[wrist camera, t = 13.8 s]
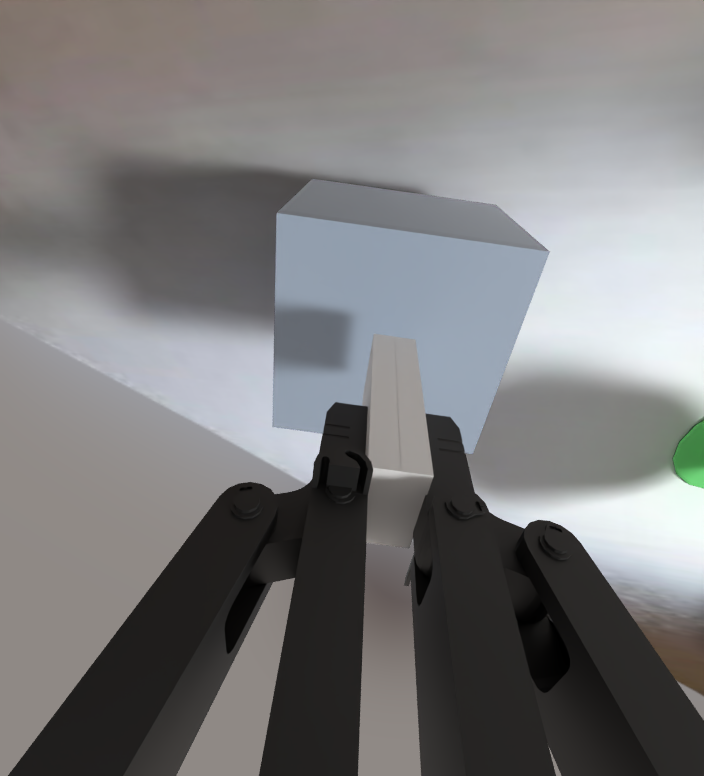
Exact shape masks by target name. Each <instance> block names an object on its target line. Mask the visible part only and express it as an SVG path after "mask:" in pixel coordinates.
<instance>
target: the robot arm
mask: <svg viewBox="0 0 704 776" xmlns="http://www.w3.org/2000/svg"><path fill="white" fill-rule="evenodd" d="M462 442H463V441H462V437H461V432H460V429H459V427H458V426H457V425H456V423H455V422H454V421H453V420H452V418H451V417H447V416H440V415H433V414H426V413H425V407H424V399H423V392H422V384H421V377H420V369H419V362H418V354H417V347H416V340H415V339H408V338H401V337H394V336H387V335H380V334H374V335H373V341H372V346H371V352H370V358H369V364H368V369H367V375H366V381H365V387H364V392H363V402H362V406H360V405H353V404H346V403H339V402H335V403H334V404H333V405H332V406H331V408H330V409H329V410H328V411H327V413H326V419H325V424H324V430H323V436H322V441H321V446H320V451H319V454H318V456H317V458H316V460H315V462H314V469H313V479H312V480H311V481H310V483H308V484H307V485H306V486H305V487H303V488H301V489H299V490H296V491H292V492H288V493H281V494H274V493H273V492H272V490H271V489H269V488H268V487H266V486H264V485H262V484H258V483H252V482H248V483H241V484H237V485H235V486H233V487H230V488H228V489H227V490H226V491H225V492H224V493H222V495H220V496H219V498H218V499H217V500H216V502H215V503H214V504H213V506H212V507H211V509H210V510H209V511H208V512H207V514H206V515H205V516H204V518H203V519H202V520H201V522H200V523H199V524H198V525H197V527H196V528H195V530H194V531H193V532H192V533H191V535H190V536H189V537H188V539H187V540H186V541H185V543H184V544H183V545H182V547H181V548H180V549H179V551H178V552H177V553H176V555H175V556H174V557H173V559H172V560H171V561H170V562H169V564H168V565H167V566H166V568H165V569H164V570H163V572H162V573H161V575H160V576H159V577H158V578H157V580H156V581H155V582H154V584H153V585H152V586H151V588H150V589H149V590H148V592H147V593H146V594H145V595H144V597H143V598H142V600H141V601H140V602H139V604H138V605H137V606H136V608H135V609H134V610H133V612H132V613H131V614H130V615H129V617H128V618H127V619H126V621H125V622H124V623H123V625H122V626H121V627H120V628H119V630H118V631H117V632H116V634H115V635H114V637H113V638H112V639H111V640H110V642H109V643H108V644H107V646H106V647H105V648H104V650H103V651H102V652H101V654H100V655H99V656H98V658H97V659H96V660H95V662H94V663H93V664H92V665H91V667H90V668H89V669H88V671H87V672H86V674H85V675H84V676H83V677H82V679H81V680H80V681H79V683H78V684H77V685H76V687H75V688H74V689H73V691H72V692H71V693H70V695H69V696H68V697H67V698H66V700H65V701H64V703H63V704H62V705H61V706H60V708H59V709H58V710H57V712H56V713H55V714H54V716H53V717H52V718H51V720H50V721H49V722H48V724H47V725H46V726H45V728H44V729H43V730H42V732H41V733H40V734H39V735H38V737H37V738H36V739H35V741H34V742H33V743H32V745H31V746H30V747H29V749H28V750H27V751H26V753H25V754H24V755H23V757H22V758H21V759H20V761H19V762H18V763H17V765H16V766H15V767H14V768H13V770H12V771H11V772H10V774H9V775H8V776H176V774H177V773H178V771H179V769H180V767H181V765H182V763H183V761H184V759H185V757H186V755H187V753H188V751H189V749H190V747H191V745H192V743H193V741H194V739H195V737H196V735H197V733H198V731H199V729H200V727H201V725H202V723H203V721H204V719H205V717H206V715H207V713H208V711H209V709H210V707H211V705H212V703H213V701H214V699H215V697H216V695H217V693H218V691H219V689H220V687H221V685H222V683H223V681H224V679H225V677H226V675H227V673H228V671H229V669H230V667H231V665H232V663H233V661H234V659H235V657H236V655H237V653H238V651H239V649H240V647H241V645H242V643H243V641H244V639H245V637H246V635H247V633H248V631H249V629H250V627H251V625H252V623H253V621H254V619H255V617H256V615H257V613H258V611H259V609H260V607H261V605H262V603H263V601H264V599H265V597H266V595H267V593H268V591H269V589H270V587H271V585H272V583H273V582H275V581H280V580H286V579H291V578H295V581H294V587H293V593H292V598H291V604H290V609H289V614H288V620H287V625H286V631H285V636H284V642H283V647H282V653H281V658H280V663H279V669H278V674H277V680H276V686H275V691H274V696H273V702H272V707H271V713H270V718H269V724H268V729H267V735H266V740H265V746H264V751H263V757H262V762H261V767H260V774H259V776H358V755H359V754H358V753H359V727H360V700H361V699H360V698H361V672H362V645H363V644H362V642H363V616H364V590H365V589H364V588H365V562H366V561H365V560H366V543H372V544H380V545H387V546H395V547H402V548H410V545H411V542H412V539H413V540H414V555H413V558H412V561H411V563H410V566H409V569H408V572H407V575H406V578H405V584H404V585H405V586H409V583H410V580H411V593H412V612H413V629H414V649H415V667H416V685H417V705H418V724H419V742H420V761H421V776H556V774H555V770H554V766H553V762H552V759H551V754H550V750H551V752H552V754H553V757H554V759H555V761H556V763H557V766H558V768H559V771H560V773H561V775H562V776H704V720H703V719H702V717H701V716H700V715H699V713H698V712H697V710H696V709H695V708H694V706H693V705H692V703H691V702H690V700H689V699H688V697H687V696H686V694H685V693H684V691H683V690H682V689H681V687H680V686H679V684H678V683H677V681H676V680H675V678H674V677H673V676H672V674H671V673H670V671H669V670H668V668H667V667H666V665H665V664H664V663H663V661H662V660H661V658H660V657H659V655H658V654H657V653H656V651H655V650H654V648H653V647H652V645H651V644H650V642H649V641H648V640H647V638H646V637H645V635H644V634H643V632H642V631H641V629H640V628H639V627H638V625H637V624H636V622H635V621H634V619H633V618H632V616H631V615H630V614H629V612H628V611H627V609H626V608H625V606H624V605H623V603H622V602H621V601H620V599H619V598H618V596H617V595H616V593H615V592H614V590H613V589H612V588H611V586H610V585H609V583H608V582H607V580H606V579H605V578H604V576H603V575H602V573H601V572H600V570H599V569H598V567H597V566H596V565H595V563H594V562H593V560H592V559H591V557H590V556H589V554H588V553H587V552H586V550H585V549H584V547H583V546H582V544H581V543H580V542H579V541H578V540H577V538H576V537H575V536H574V535H573V534H572V533H571V532H569V531H568V530H566V529H565V528H564V527H562V526H561V525H558V524H555V523H553V522H550V521H544V520H537V521H534V522H530V523H529V524H528V526H527V527H526V528H525V529H524V528H521V527H519V526H516V525H514V524H511V523H509V522H506V521H504V520H502V519H500V518H498V517H496V516H494V515H493V514H491V513H490V512H489V510H488V508H487V506H486V504H485V502H484V501H483V500H482V499H481V498H480V497H479V496H478V495H477V494H475V492H474V489H473V484H472V480H471V476H470V471H469V467H468V463H467V458H466V454H465V450H464V445H463V444H462ZM548 745H549V747H548ZM549 748H550V750H549Z"/></svg>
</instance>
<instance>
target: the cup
mask: <svg viewBox="0 0 704 776" xmlns="http://www.w3.org/2000/svg"><path fill="white" fill-rule="evenodd" d="M673 462H674V466H675V471H676V474H677V475H678V476H680V477H681V478H682V479H683V480H684V481H685V482H687V483H688V484H689V485H693V486H697V487H700V488H704V420H703V421H702V422H700V423H698V424H697V425H695V426H694V427H693V428H692V429H691V430H690V431H689V433H688V434H687V435H686V436H685V437H684V438H683V439H682V440H681V441H680V442H679V444H678V447H677V450H676V452H675V455H674V457H673Z"/></svg>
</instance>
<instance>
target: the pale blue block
mask: <svg viewBox="0 0 704 776" xmlns="http://www.w3.org/2000/svg"><path fill="white" fill-rule="evenodd" d="M548 255H549V251H548V250H547V249H546V248H545V247H544V246H543V245H541V244H540V243H539V242H538V241H537V240H536V239H534V238H533V237H532V236H531V235H530V234H529V233H528V232H526V231H525V230H524V229H523V228H522V227H521V226H520V225H518V224H517V223H516V222H515V221H514V220H513V219H512V218H510V217H509V216H508V215H507V214H506V213H505V212H504V211H502V210H501V209H500V208H499V207H498V206H497V205H493V204H486V203H479V202H472V201H465V200H458V199H451V198H444V197H437V196H430V195H423V194H416V193H409V192H402V191H395V190H388V189H381V188H374V187H367V186H360V185H353V184H346V183H339V182H332V181H325V180H319V179H312V180H311V181H309V182H308V183H307V184H306V185H305V186H304V187H303V188H302V189H301V190H300V191H299V192H298V193H297V194H296V195H295V196H294V197H293V198H292V199H291V200H290V201H289V202H287V203H286V204H285V205H284V206H283V207H282V208H281V209H280V210H279V211H278V212H277V215H276V268H275V320H274V373H273V426H272V427H278V428H285V429H292V430H300V431H307V432H314V433H322V434H323V430H324V424H325V419H326V413H327V411H328V410H329V409H330V408H331V406H332V405H333V404H334V403H335V402H339V403H346V404H353V405H360V406H362V402H363V392H364V387H365V381H366V375H367V369H368V364H369V358H370V352H371V346H372V341H373V335H374V334H380V335H387V336H394V337H401V338H408V339H415V340H416V347H417V354H418V362H419V369H420V377H421V384H422V392H423V399H424V407H425V413H426V414H433V415H440V416H447V417H451V418H452V420H453V421H454V422H455V423H456V425H457V426H458V427H459V429H460V432H461V437H462V441H463V442H462V444H463V445H464V450H465V453H468V454H473V452H474V450H475V447H476V444H477V442H478V439H479V437H480V434H481V431H482V429H483V426H484V423H485V421H486V418H487V415H488V413H489V410H490V408H491V405H492V402H493V400H494V397H495V394H496V392H497V389H498V387H499V384H500V381H501V379H502V376H503V373H504V371H505V368H506V365H507V363H508V360H509V358H510V355H511V352H512V350H513V347H514V344H515V342H516V339H517V336H518V334H519V331H520V329H521V326H522V323H523V321H524V318H525V315H526V313H527V310H528V308H529V305H530V302H531V300H532V297H533V294H534V292H535V289H536V286H537V284H538V281H539V279H540V276H541V273H542V271H543V268H544V265H545V263H546V260H547V257H548Z"/></svg>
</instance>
